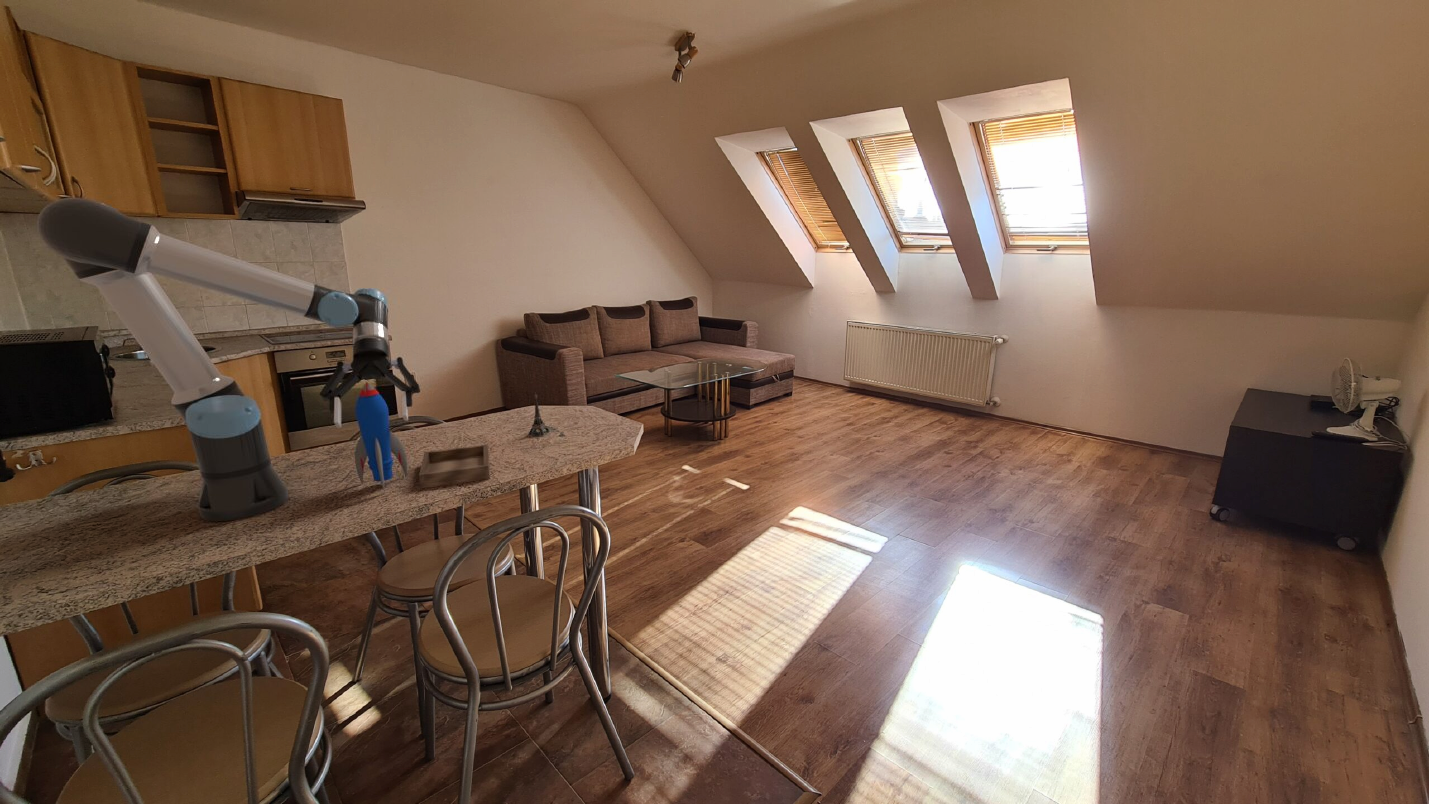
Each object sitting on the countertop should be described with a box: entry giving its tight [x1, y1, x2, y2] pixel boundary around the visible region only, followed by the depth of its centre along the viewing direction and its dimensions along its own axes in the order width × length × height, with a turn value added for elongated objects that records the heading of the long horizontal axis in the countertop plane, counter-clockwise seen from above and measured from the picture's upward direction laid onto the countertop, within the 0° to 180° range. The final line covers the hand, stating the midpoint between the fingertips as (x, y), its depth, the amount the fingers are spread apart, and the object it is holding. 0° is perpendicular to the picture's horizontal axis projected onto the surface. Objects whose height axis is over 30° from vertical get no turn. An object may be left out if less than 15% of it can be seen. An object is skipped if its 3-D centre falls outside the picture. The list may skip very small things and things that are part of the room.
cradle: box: [418, 443, 491, 489], centre depth 144 cm, size 15×16×3 cm
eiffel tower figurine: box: [516, 391, 566, 438], centre depth 170 cm, size 15×10×13 cm
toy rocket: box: [354, 381, 408, 494], centre depth 133 cm, size 11×10×25 cm
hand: (372, 421), depth 133 cm, fingers open, 13 cm apart
